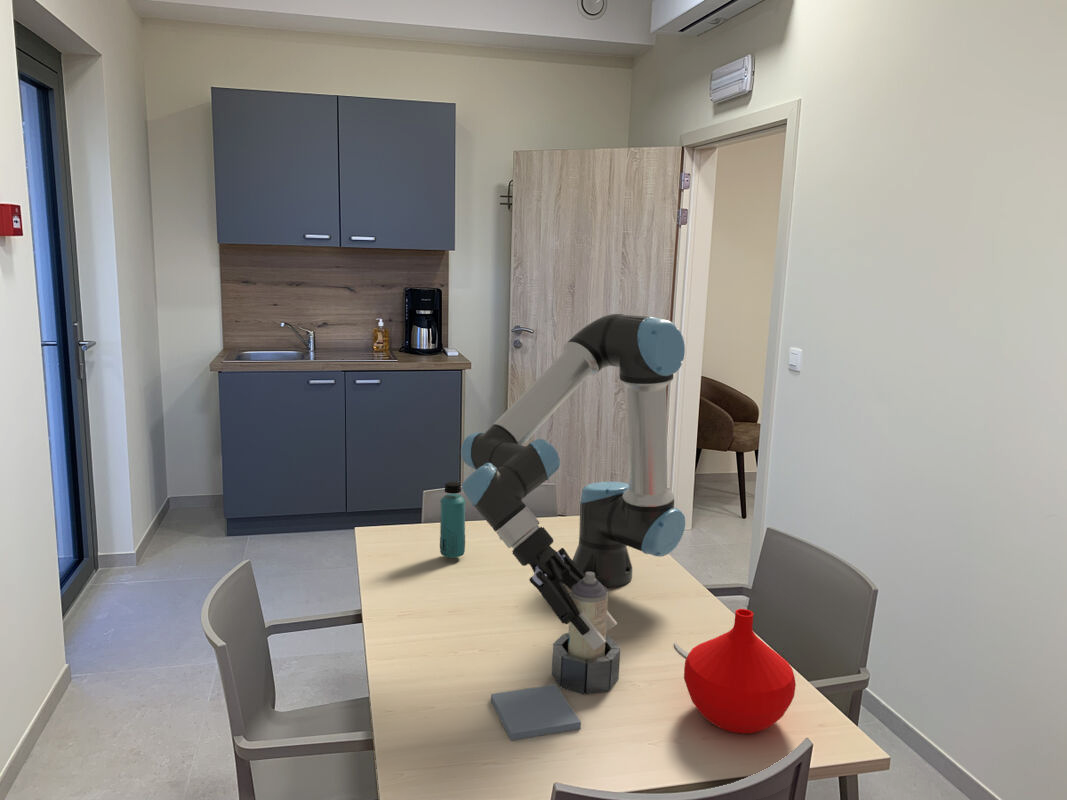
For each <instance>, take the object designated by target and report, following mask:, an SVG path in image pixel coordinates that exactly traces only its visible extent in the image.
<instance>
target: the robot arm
mask: <svg viewBox="0 0 1067 800" xmlns="http://www.w3.org/2000/svg"><path fill="white" fill-rule="evenodd" d="M685 352H686V347H685V340H684V336H683V335H682V332H681V331H680V329H679V328H678V327H677V326H676V324H674V323H673V322H672V321H671V320H667V319H664V318H662V319H661V318H659V317H655V316H644V315H642V316H641V315H632V314H631V315H629V314H623V313H613V314H607V315H605V316H602V317H599V318H598V319H595V320H594V321H592V322H590V323H588V324H587V325H586V326H584V327H583V328H582V329H580V330H579V331H578V332H577V333H575V334H574V335H573V336H572V337H571V338H570V339H569V340H568V341H567V342H566V343H565V344H564V346H563V352H562V353H561V355H560V356H559V357H557V359H556V360H555V361H553V363H552V364H551V365H550V366H549V367H548V368H547V369H545V371H544V372H543V373H541V375H540V376H539V377H538V378H537V379H536V380H535V381H534V382H533V383H532V384H531V385H530V386H529V387H528V388H527V389H526V390H525V391H524V393H522V394H521V395H520V396H519V398H518V399H516V401H515V402H513V404H511V405H510V407H509V408H507V410H506V411H505V412H504V413H503V414H502V415H501V416H500V417H499V418H498V419H497V420H496V421H495V422H494V423H493V424H492V425H491V426H490V427H489V428H488V429H487V430H486V431H485V432H473V433H471V434H469V435H467V436H466V437H465V439H464V440H463V442H462V444H461V449H460V455H461V459H462V461H463V462H464V464H466V465H467V466H468V467H470V468H472V469H474V470H475V471H473V472H472V473H471V474H470V475H469V476H467V478H465V480H464V481H463V482H462V484H461V490H462V492H463V493H464V494H465V496H466V497H467V499H468V501H469V502H470V503H471V505H472V506H473V507H475V509H476V510H477V511H478V513H479V514H480V515H481V516H482V518H484V520H485V521H486V522H487V524H488V525H489V526H490V527H491V528H492V529H493V531H494V532H495V533H496V534H497V536H498V538H499V539H500V541H502V542H503V543H504V544H505V546H506V547H507V548H509V549H512V550H511V552H512V555H513V556H514V557H515V559H516V560H517V561H518V563H520V564H521V566H525V567H526V566H528V565H529V566H530V567H531V570H532V572H533V573H534V574H533V575H532V576H531V577H529V579H528V580H529V582H530V584H531V585H533V586H534V587H535V588H536V589H537V590H538V592H539V593H540V594H541V596H542V597H543V599H544V600H545V601H546V603H547V604H548V606H549V608H551V609H552V611H553V612H554V613H555V616H557V618H558V620H559V621H560V622H561V623H562V624H565V625H568V624H569V622H571V623H572V624H573V625H574V626H575V627H576V629H577V630H578V631H579V632H580V634H581V635H582V636H583V637H584V638H585V640H586V641H587V642H588V643H589V645H590V646H591V647H592V648H593V650H595V649H597V648H598V647H599V646H601V645H602V644H604V643H605V642H606V640H605V639H604V638H603V636H602V635H601V634H600V633H599V631H598V630H597V629H596V628H595V626H594V625H593V624H592V623H591V621H590V620H589V619H588V618H587V617H586V615H585V614H584V613H583V612H582V613H579V611H578V609H577V607H576V605H575V604H574V602H573V600H572V598H571V597H570V593H569V591H568V590H567V588H568V589H569V590H570V591H571V590H572V586H573V585H575V584H577V583H578V582H579V581H580V580H582V579H583V578H584V577H585V573H586V572H594V573H595V578H596V579H597V580H598V581H599V582H600V583H601V584H602V585H603V586H605V587H606V588H615V587H620V586H624V585H626V584H628V583H629V582H631V581H632V579H633V566H632V565H633V564H632V561H631V557H630V554H629V551H628V547H629V548H632V549H635V550H637V551H639V552H642V553H643V554H645V555H652V556H654V557H659V558H660V557H664V556H667V555H669V554H670V553H672V552H673V551H674V549H676V548H677V547H678V544H679V543H680V541H681V540H682V537H684V536H683V535H684V533H685V529H686V517H685V514H684V513H683V511H682V510H680V509H679V508H677V507H675V494H674V493H673V492H672V491H671V490H670V489H669V488H668V446H667V445H668V433H667V431H668V427H667V426H668V425H667V422H668V421H667V419H668V418H667V413H668V412H667V410H668V408H667V406H668V404H667V386H668V385H669V384H670V383H671V382H672V381H673V380H674V374H676V373H677V372H678V371H679V370H680V368H682V367H681V366H682V362H683V361H684V359H685ZM607 367H617V368H619V369H618V370H619V375H618V376H619V377H618V378H619V381H620V382H621V383H622V384H623V385H624V386H625V388H626V410H627V451H628V452H627V453H628V456H627V457H628V459H627V460H628V483H626V482H621V481H601V482H600V481H599V482H593V483H589V484H586V486H584V487H583V488H582V490H581V494H580V498H581V499H580V501H579V531H578V533H579V535H578V536H579V537H578V544H577V547H576V550H575V552H574V556H573V557H572V558H571V557H570V556H569V554H568V552H567V551H566V549H565V548H564V547H561V548H560V549H559V550H555V549H554V548H553V547H552V546H551V545H553V543H554V538H553V537H552V535H550V533H549V532H548V531H547V530H546V528H545V527H544V526H540V525H539V524H540V521H539V519H537V517H536V516H535V515H534V513H533V512H532V511H531V510H530V509H529V507H528V506H527V505H526V504H525V503H524V501H523V499H524V498H525V497H527V495H529V494H530V493H531V492H533V491H534V490H535V489H537V488H538V487H540V486H541V485H542V484H543V483H544V482H546V481H548V480H549V479H550V477H551V476H553V475H554V474H555V473H556V472H557V471H558V470H559V468H560V467H561V459H560V457H559V452H558V451H557V449H556V448H555V447H554V446H553V445H552V444H551V442H549V441H547V440H546V439H542V438H537V439H535V440H532V442H531V441H530V442H529V443H528V444H527V445H525V444H526V443H527V441H529V439H530V438H532V436H533V435H534V434H535V433H536V432H537V430H539V429H540V428H541V426H543V424H545V422H546V421H547V420H548V419H549V418H550V417H551V415H553V414H554V413H555V412H556V411H557V409H558V408H560V406H561V405H562V404H563V403H564V402H565V401H567V399H568V397H570V396H571V395H572V394H573V392H575V391H576V390H577V389H578V387H579V386H580V385H581V384H582V383H583V382H584V381H585V380H586V379H587V378H588V377H594V376H596V375H597V374H598V372H599V371H601V370H603V369H604V368H607ZM616 625H618V622H617V621H616V620H615V618H614V617H613V616H612V615H611V614H610V611H608V610H607V620H606V633H607V632H608V631H610V630H611V629H612V628H614V627H615V626H616Z"/></svg>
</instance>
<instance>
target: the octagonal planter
mask: <svg viewBox="0 0 1067 800" xmlns="http://www.w3.org/2000/svg"><path fill="white" fill-rule="evenodd" d="M568 640H569V632H566V633H564V634H562V635H561V636H559V637H558V639H556V640H555V642H554V643H552V657H551V658H552V661H551V676H552V677H553V679H554V680H555V682H556V683H557V686H558V687H560V688H561V689H563V690H568V691H570V692H574V693H577V694H580V695H581V694H582V695H594V694H600V693H605V692H610V691H611V690H612V689H613V687H614V686H615V685H616V683H617V682H618V681H619V677H620V661H621V647H620V646H619V645H618V644H617V643H616V642H615V640H614V639H612V637H610V636H608V635H606V639H605V640H606V642H605V657H599V658H592V659H584V658H580V657H576V656H573V655H569V654H568Z"/></svg>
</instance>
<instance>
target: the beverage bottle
mask: <svg viewBox="0 0 1067 800" xmlns="http://www.w3.org/2000/svg"><path fill="white" fill-rule="evenodd" d="M444 484H445V485H444V492H445V493H447V494H445V495H444V496H443V497H442V498H440V517H439V522H440V526H439V527H440V529H439V530H440V532H439V534H440V535H439V550H440V551H439V552H440V555H442V556H443V557H445V558H458V557H459V558H460V557H462V556H464V555H465V551H466V549H465V548H466V522H465V521H466V519H465V515H466V499H465V497H463V496H462V495H461V494H459V493H462V484H461V483H460V482H458V481H448V482H446V483H444Z"/></svg>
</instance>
